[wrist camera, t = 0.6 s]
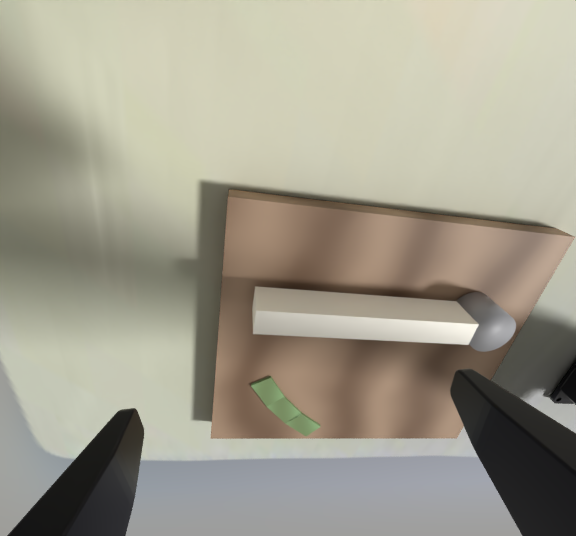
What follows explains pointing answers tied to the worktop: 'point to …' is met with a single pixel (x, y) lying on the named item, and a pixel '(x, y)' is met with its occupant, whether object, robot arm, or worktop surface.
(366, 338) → the dial needle
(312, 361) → the board
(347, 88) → the worktop surface
